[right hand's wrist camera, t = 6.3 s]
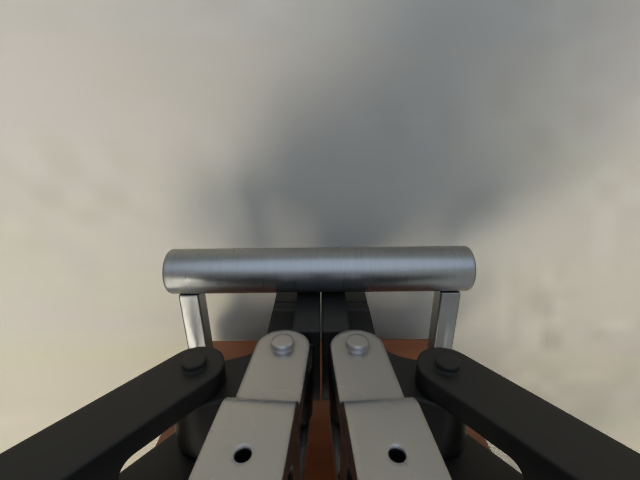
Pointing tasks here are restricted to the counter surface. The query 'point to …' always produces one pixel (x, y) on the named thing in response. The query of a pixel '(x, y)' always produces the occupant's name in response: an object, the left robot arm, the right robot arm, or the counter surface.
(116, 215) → the counter surface
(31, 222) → the counter surface
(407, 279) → the drawer
